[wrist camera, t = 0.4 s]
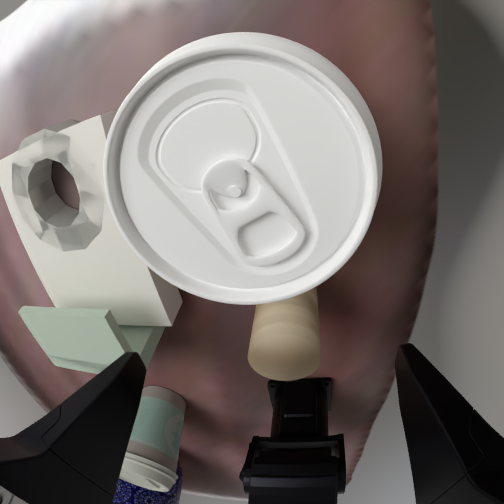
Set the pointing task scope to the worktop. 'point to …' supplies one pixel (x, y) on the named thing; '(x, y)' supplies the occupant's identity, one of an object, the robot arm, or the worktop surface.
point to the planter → (148, 492)
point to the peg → (286, 338)
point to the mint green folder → (88, 337)
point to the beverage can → (243, 168)
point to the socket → (81, 228)
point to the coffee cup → (155, 440)
